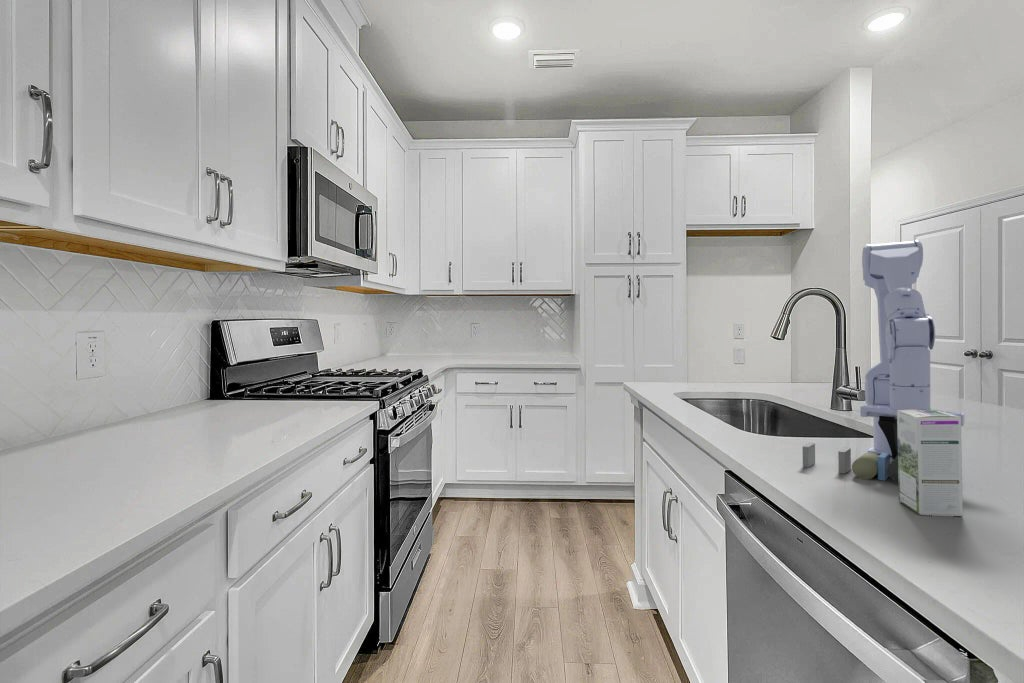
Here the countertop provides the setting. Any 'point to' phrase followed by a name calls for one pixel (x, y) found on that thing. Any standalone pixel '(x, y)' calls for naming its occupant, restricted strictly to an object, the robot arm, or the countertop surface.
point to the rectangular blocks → (846, 460)
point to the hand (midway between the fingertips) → (909, 460)
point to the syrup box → (930, 462)
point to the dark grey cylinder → (893, 469)
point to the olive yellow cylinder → (866, 466)
